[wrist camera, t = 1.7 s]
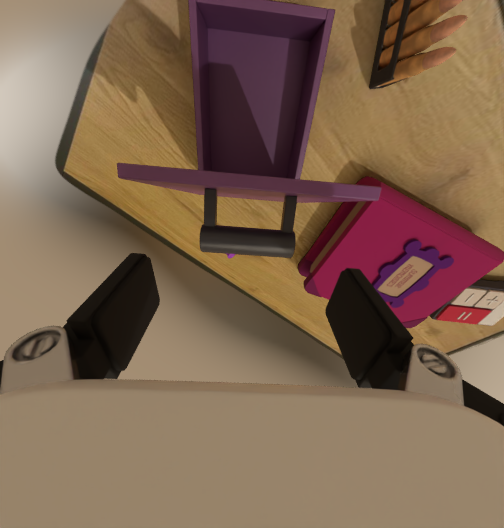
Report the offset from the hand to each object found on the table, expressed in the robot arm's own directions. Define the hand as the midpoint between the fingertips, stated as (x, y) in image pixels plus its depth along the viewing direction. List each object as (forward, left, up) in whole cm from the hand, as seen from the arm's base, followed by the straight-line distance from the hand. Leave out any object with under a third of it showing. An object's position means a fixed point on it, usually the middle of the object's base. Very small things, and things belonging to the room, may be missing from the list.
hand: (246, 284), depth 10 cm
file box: (-7, 0, -27) cm, 28 cm away
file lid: (-2, 0, -12) cm, 12 cm away
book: (+13, +28, -28) cm, 41 cm away
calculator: (+23, +54, -28) cm, 65 cm away
